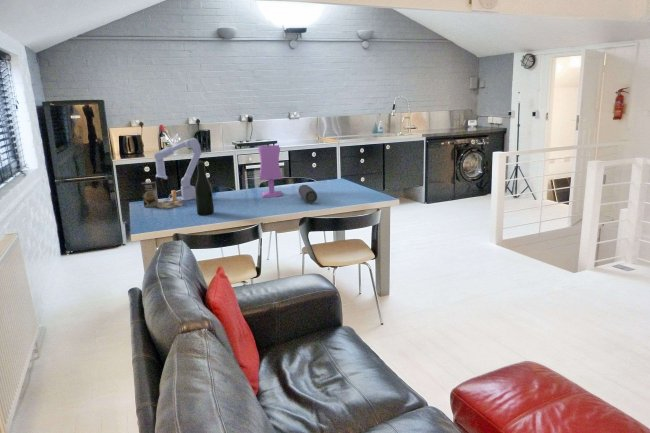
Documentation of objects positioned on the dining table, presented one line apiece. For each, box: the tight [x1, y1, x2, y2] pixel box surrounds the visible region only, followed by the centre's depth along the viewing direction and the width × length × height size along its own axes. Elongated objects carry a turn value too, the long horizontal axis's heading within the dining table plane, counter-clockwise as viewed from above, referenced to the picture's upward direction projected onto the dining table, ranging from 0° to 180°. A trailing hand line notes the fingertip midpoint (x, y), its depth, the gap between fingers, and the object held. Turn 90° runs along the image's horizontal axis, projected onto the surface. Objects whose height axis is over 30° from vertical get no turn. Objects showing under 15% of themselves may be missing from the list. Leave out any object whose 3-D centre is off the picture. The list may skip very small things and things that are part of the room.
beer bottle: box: [194, 160, 215, 216], centre depth 289 cm, size 10×10×33 cm
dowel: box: [170, 189, 178, 202], centre depth 319 cm, size 3×3×10 cm
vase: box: [257, 144, 283, 198], centre depth 337 cm, size 16×16×35 cm
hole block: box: [156, 198, 184, 210], centre depth 318 cm, size 14×10×3 cm
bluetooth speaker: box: [298, 184, 318, 204], centre depth 317 cm, size 23×9×10 cm, turn 14°
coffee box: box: [140, 181, 159, 208], centre depth 319 cm, size 9×6×16 cm
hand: (163, 188), depth 331 cm, fingers open, 7 cm apart
